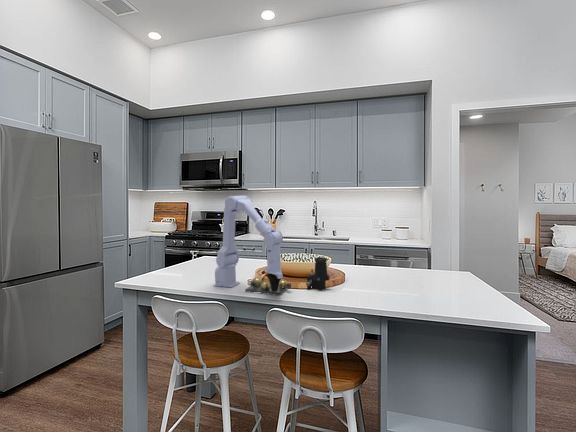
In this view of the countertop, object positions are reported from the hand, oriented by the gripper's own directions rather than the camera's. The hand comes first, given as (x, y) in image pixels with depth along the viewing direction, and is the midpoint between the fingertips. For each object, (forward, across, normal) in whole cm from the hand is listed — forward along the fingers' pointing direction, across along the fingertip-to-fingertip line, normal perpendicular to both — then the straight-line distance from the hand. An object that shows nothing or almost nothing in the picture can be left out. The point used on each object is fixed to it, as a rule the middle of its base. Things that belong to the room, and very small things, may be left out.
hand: (274, 290), depth 141 cm
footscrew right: (+1, -5, -1) cm, 6 cm away
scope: (+2, 0, +22) cm, 22 cm away
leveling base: (+2, -9, 0) cm, 9 cm away
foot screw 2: (+1, -4, +7) cm, 8 cm away
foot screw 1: (0, -13, -4) cm, 14 cm away
